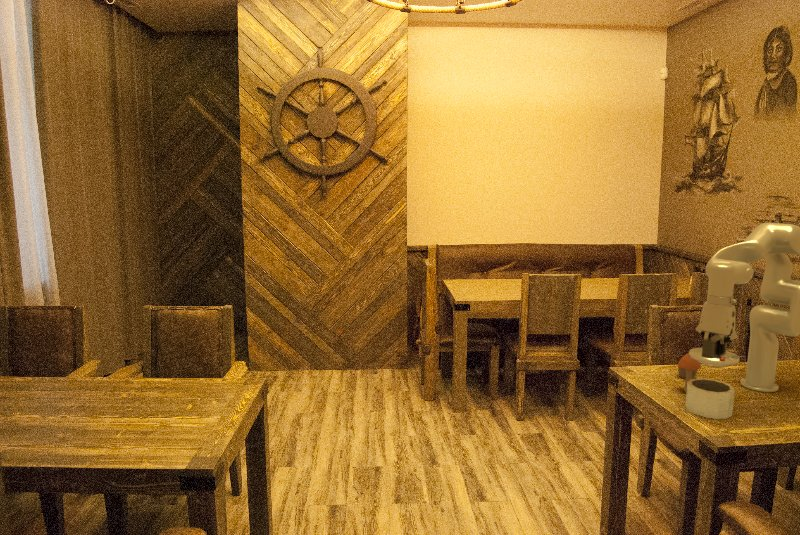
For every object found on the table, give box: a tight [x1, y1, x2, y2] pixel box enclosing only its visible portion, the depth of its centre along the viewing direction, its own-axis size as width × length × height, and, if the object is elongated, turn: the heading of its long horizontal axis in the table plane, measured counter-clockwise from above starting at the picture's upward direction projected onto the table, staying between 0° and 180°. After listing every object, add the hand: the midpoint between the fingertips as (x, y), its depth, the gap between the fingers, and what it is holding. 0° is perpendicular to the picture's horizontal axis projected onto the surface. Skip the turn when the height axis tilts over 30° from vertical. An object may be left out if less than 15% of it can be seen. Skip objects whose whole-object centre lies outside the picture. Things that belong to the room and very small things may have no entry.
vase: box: [677, 365, 698, 380], centre depth 239 cm, size 7×7×9 cm
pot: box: [684, 377, 736, 420], centre depth 207 cm, size 14×14×9 cm
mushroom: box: [677, 352, 702, 393], centre depth 224 cm, size 8×8×15 cm
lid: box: [688, 334, 740, 368], centre depth 204 cm, size 15×15×8 cm
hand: (714, 352), depth 204 cm, fingers closed on lid, 3 cm apart
